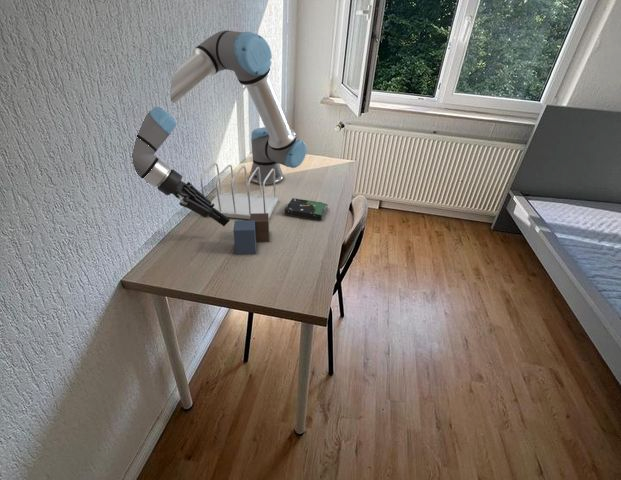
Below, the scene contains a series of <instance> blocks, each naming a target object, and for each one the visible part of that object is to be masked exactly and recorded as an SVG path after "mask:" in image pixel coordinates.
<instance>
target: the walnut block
mask: <svg viewBox="0 0 621 480" xmlns="http://www.w3.org/2000/svg"><path fill="white" fill-rule="evenodd" d="M269 219H270V218H269ZM269 219H268V213H254V214H250V219H249V221H250V220H255V231H256V243H266V242H267V243H268V242H269V243H270V223H269V222H270V221H269Z"/></svg>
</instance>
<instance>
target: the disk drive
mask: <svg viewBox="0 0 621 480" xmlns="http://www.w3.org/2000/svg"><path fill="white" fill-rule="evenodd" d="M328 207H329V206H328V203H326V202H320V201H313V200H308V199H301V198H296V197H295V198H294V197H292V198H291V200H290V201H289V202H288V204H287V206H285V208H284V215H286V216H291V217H296V218H304V219H309V220H314V221H315V220H316V221H322V220H323V219H324V216H325V214H326V213H327V210H328Z"/></svg>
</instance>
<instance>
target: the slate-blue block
mask: <svg viewBox="0 0 621 480" xmlns="http://www.w3.org/2000/svg"><path fill="white" fill-rule="evenodd" d="M232 232H233V241H234V250H235V255H255V254H257V242H256V231H255V220H250V219H249V220H234V224H233V229H232Z"/></svg>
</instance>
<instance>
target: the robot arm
mask: <svg viewBox="0 0 621 480" xmlns="http://www.w3.org/2000/svg"><path fill="white" fill-rule="evenodd" d="M272 56H273V55H272V50H271V47H270V44H269V43H268V41H267V40H266V39H265V38H264V37H263V36H261V35H260V34H257V33H254V32H252V31H235V30H221V31H220V30H219V31H218V32H216V33H213V34H212V35H210V36H209V37H208V38H206V39H205V40H204V41H202V42H201V43H200V44H198V45H197V46H196V47H195V48H193V49H192V55H190V56H189V57H188V58H186V60H184V61H183V62H182V63H180V64H179V65H180V66H179V65H178V66H179V68H178V69H177V71H176V72H175V75H174V77H173V80H172V86H171V101H172V102H173V103H175V104H177V103H178V102H179V101H180V100H181V99H183V98H184V97H185V96H186V95H187V94H188V93H190V92H191V91H192V90H193V89H195V87H197V86H198V85H199V84H200V83H201V82H202V81H203V80H205V79H206V78H207V77H209V76H211V77H213V76H215V75H216V74H217V73H219V72H222V71H224V70H225V71H226V70H229V71H233V72H234V74H235V77H236V78H237V80H238V82H239V84H240V85H242V86H245V87H246V89H247V91H248V93H249V96H250V98H251V100H252V102H253V104H254V106H255V108H256V111H257V113H258V116H259V117H260V119H261V121H262V123H263V125H264V127H259V128H255V129H253V130H252V131H251V138H250V141H251V142H250V143H251V153H252V154H251V155H252V165H251V169H250V171H249V178H250V177H251V175H252V174H253V172H254V171H255V169H256V168H257V167H259V168H260V177H261V186H263V182H264V180H265V178H266V177H267V175H268V174H269V172H270V171H271V169H274V171H275V185H276V184H279V183H281V182H282V181H283V179H284V178H283V177H284V174H283V171H282V168H281V166H280V165H282V166H284V167H286V168H291V169H296V168H297V167H300V166H301V165H302V163H303V162H304V160H305V159H306V155H307V151H308V150H307V144H306V143H305V141H303V140H301V139H298V136H297V134H296V131H295V130H294V129H293V128H292V127H290V126H289V123H288V120H287V118H286V116H285V114H284V111H283V109H282V107H281V104H280V101H279V99H278V96H277V94H276V92H275V89H274V85H273V83H272V81H271V78H270V73H271V66H272V60H271V59H272V58H273V57H272ZM176 126H177V122H176V120H175V118H174V117H173V116H172V115H171V114H170V113H169V112H167V111H165V110H163V109H162V108H160V107H154V108H153V109H152V110H151V111H149V113H148V114H147V115H146V117H145V119H144V121H143V123H142V126H141V128H140V130H139V133H138V135H137V137H138V138H136V141H135V145H134V149H133V153H132V158H133V164H134V167H135V170H136V172H137V174H138V175H139V176H140V178H141V179H142V180H144V182H145V183H146V184H150V185H151V186H153V187H154V188H157V190H158V191H160V192H161V193H162V194H164V196H170V195H171V194H172V195H173V196H174V197H175V198H176V199H178V200H179V203H178V204H179V206H181V207H183V208H186V209H189V210H190V211H192V212H194V213H195V214H198V215H199V216H202V217H203V218H206V219H207V217H210V218H211V219H212V220H214V221H215V222H217V223H218V224H220V225H222V227H225V226H226V225H227V224H228V223H229V222H230V217H226V216H225V215H223V214H222V213H220V212H219V211H218V210H216V209H215V208H213V207H214V206H215V205H214V204H212V203H211V201H212V200H211V201H210V200H209V199H208V198H207V197H206V195H205V194H204V195H205V196H204V195H203V194H202V192H200V190H199V189H197V188H196V187H195V186H194V185H193V184H192V183H191V182H189V181H187V183H186V182H184V181H182V180H183V176H182V174H180V173H179V172H178V171H176V170H175V169H173V168H172V169H171V166H170V165H169V164H167V163H166V162H165V161H163V160H162V159H160V158H159V157H157V156H156V155H155V154H156V152H157V151H158V150H159V149H160V148H161V146H162V145H163V144H164V143H165V141H166V140H167V139H168V138H169V136H170V135H171V134H172V132H173V130H174V129H175V127H176ZM140 139H141V140H140ZM148 145H149V146H148ZM151 169H152V170H151ZM148 173H149V174H148ZM147 174H148V175H147ZM138 175H137V176H138ZM146 175H147V176H146ZM139 176H138V177H139ZM145 176H146V177H145ZM144 177H145V178H144ZM143 178H144V179H143ZM250 182H252V183H254V184H256V185H260V184H259V172H258V169H257V171H256V172H255V174H254V176H253V177H252V179H251V180H250ZM272 185H274V180H273V171H272V172H271V174H270V175H269V177H268V178H267V180H266V182H265V186H272ZM211 204H212V205H211Z"/></svg>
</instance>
